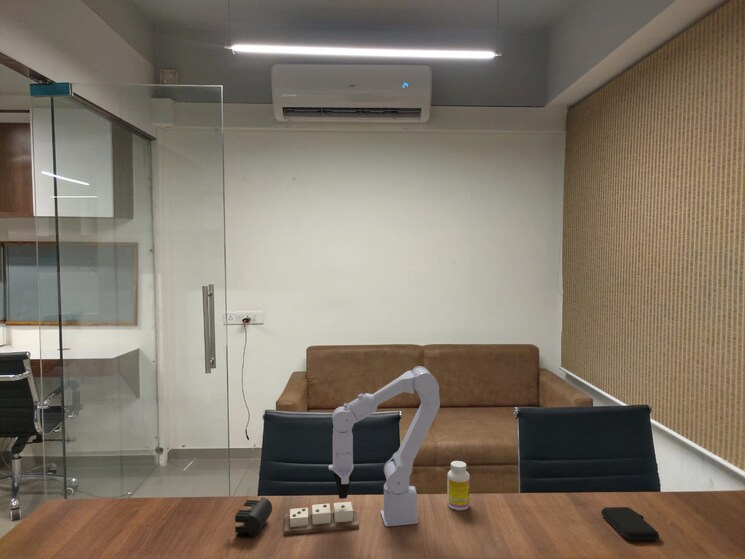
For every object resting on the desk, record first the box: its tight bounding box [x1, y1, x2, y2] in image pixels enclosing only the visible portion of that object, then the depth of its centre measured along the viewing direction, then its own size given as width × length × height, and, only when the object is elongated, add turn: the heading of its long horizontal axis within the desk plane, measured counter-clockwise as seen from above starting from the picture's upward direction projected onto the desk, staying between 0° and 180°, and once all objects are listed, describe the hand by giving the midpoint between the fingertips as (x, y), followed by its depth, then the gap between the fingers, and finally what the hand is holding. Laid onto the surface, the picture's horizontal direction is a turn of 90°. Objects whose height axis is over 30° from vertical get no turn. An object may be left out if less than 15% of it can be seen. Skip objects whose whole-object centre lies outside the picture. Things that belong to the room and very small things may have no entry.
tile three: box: [289, 507, 309, 527], centre depth 132 cm, size 5×5×3 cm
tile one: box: [333, 501, 353, 523], centre depth 134 cm, size 5×5×3 cm
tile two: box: [311, 503, 331, 525], centre depth 133 cm, size 5×5×3 cm
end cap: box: [234, 496, 273, 540], centre depth 130 cm, size 10×7×7 cm
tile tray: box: [283, 507, 360, 536], centre depth 133 cm, size 20×9×1 cm, turn 99°
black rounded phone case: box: [600, 506, 660, 543], centre depth 130 cm, size 11×3×15 cm
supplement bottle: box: [446, 460, 471, 511], centre depth 142 cm, size 7×7×13 cm
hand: (342, 497), depth 134 cm, fingers closed
